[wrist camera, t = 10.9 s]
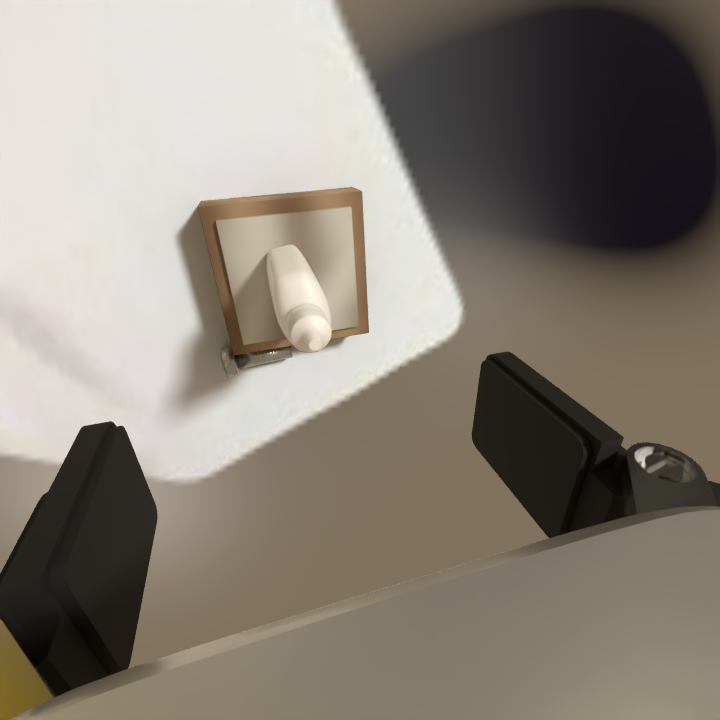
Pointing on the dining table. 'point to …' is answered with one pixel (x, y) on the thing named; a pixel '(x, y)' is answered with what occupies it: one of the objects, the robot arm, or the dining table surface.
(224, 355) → the loose bolt
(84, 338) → the dining table surface
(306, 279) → the eye dropper bottle
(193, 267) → the dining table surface
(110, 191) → the dining table surface
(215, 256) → the picture frame
